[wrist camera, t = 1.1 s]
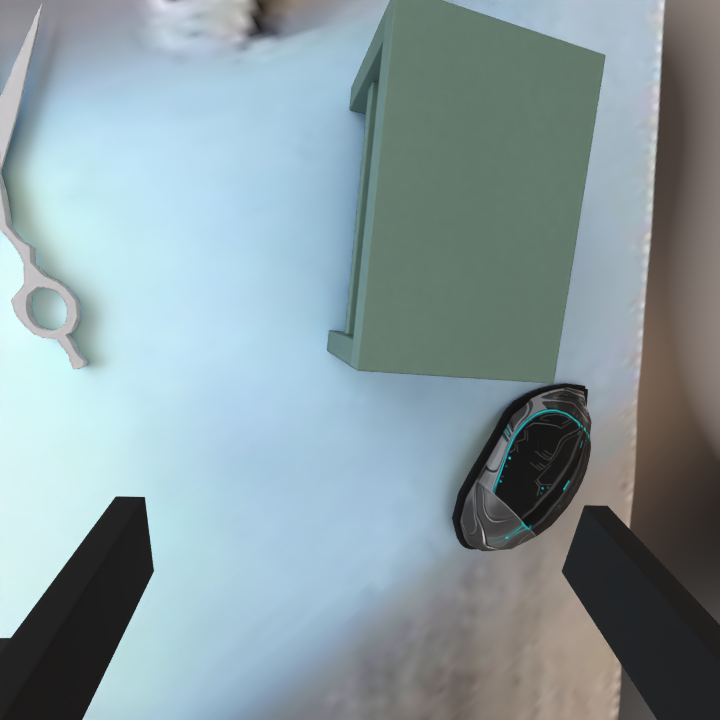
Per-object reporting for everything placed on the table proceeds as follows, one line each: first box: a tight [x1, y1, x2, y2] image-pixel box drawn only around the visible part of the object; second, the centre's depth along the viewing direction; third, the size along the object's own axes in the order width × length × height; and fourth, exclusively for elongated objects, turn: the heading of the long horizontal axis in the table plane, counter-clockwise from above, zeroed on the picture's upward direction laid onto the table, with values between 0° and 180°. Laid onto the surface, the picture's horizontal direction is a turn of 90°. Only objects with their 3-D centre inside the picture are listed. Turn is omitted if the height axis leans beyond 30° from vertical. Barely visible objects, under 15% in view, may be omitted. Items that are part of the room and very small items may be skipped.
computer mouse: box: [452, 384, 591, 551], centre depth 32 cm, size 9×17×6 cm, turn 133°
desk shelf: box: [327, 0, 605, 383], centre depth 25 cm, size 18×12×9 cm, turn 174°
